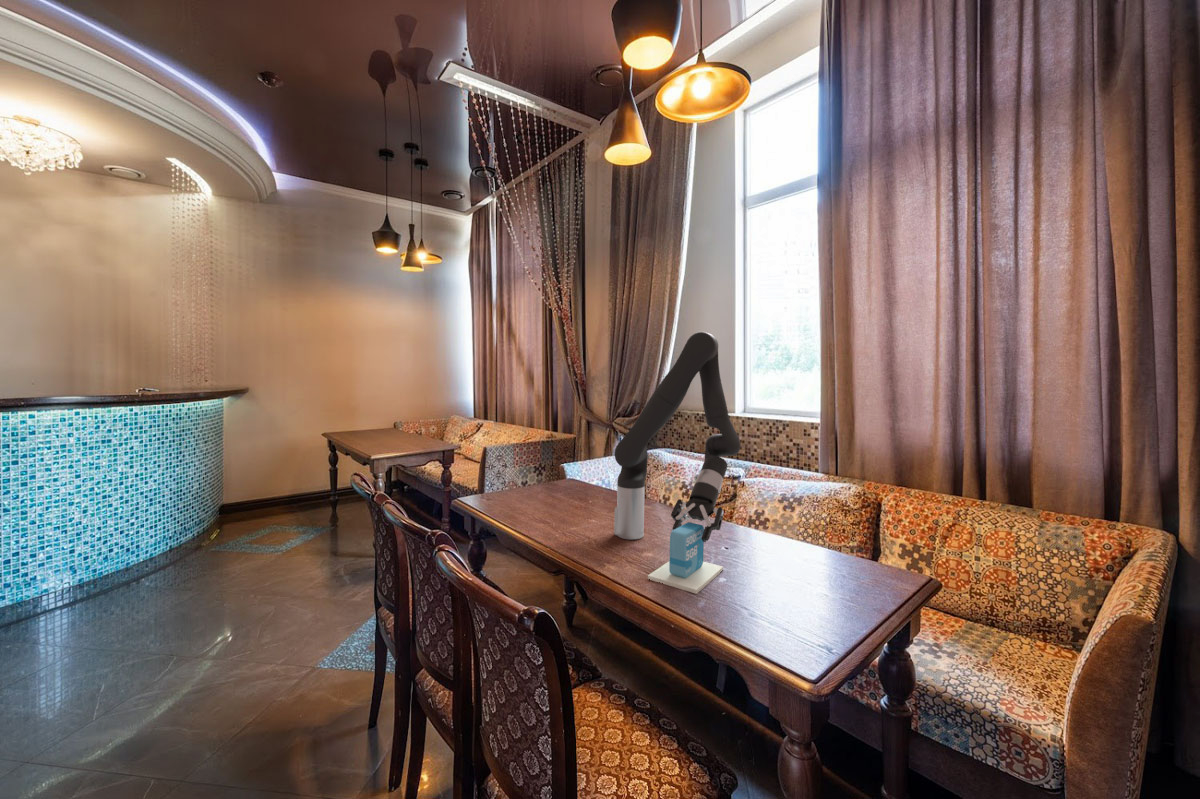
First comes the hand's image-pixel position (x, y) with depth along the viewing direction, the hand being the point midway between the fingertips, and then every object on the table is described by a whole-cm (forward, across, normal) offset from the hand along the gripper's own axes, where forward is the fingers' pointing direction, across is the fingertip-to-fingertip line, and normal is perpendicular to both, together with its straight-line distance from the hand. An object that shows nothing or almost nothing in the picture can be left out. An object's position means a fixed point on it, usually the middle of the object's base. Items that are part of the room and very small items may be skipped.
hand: (689, 537), depth 128 cm
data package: (+7, 0, +6) cm, 9 cm away
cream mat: (+8, 0, +6) cm, 10 cm away
